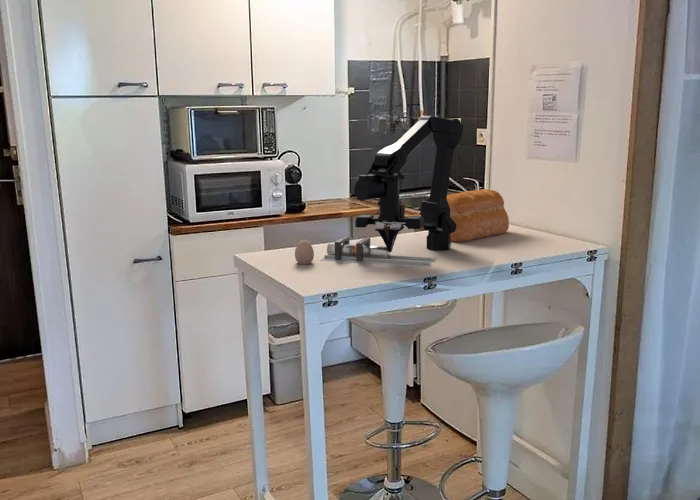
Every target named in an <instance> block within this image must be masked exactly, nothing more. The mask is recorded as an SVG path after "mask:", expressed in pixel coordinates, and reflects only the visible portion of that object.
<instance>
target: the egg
mask: <svg viewBox="0 0 700 500" xmlns="http://www.w3.org/2000/svg"><path fill="white" fill-rule="evenodd" d="M314 251H315V250H314V248H313V246H312V244H311V243H310V242H309V241H308V240H306V239H303V240H300V241H299V242H298V243H297V245H296V247H295V250H294V257H295V260H296V262H297V263H298V264H299V265H303V266H304V265H310V264H311V263H313V260H314V256H315V252H314Z"/></svg>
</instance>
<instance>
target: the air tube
mask: <svg viewBox="0 0 700 500" xmlns="http://www.w3.org/2000/svg"><path fill="white" fill-rule="evenodd" d="M341 247H342V256H352V257H356V244H343V243H342V244H341ZM326 255H335V243H331V242H330V243H328V244H327V247H326ZM390 255H391V252H388V249H387V247H386V246H383V245H382V246H381V245H379V246H378V245H370V246H367V245H363V257H368V258H383V259H389V256H390Z"/></svg>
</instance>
